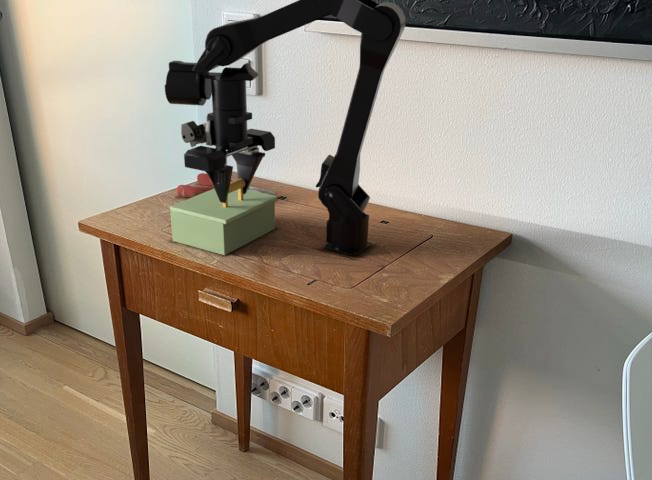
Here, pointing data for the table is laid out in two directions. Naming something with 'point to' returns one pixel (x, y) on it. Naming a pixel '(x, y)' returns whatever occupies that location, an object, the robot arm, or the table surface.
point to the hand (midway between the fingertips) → (233, 197)
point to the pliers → (208, 187)
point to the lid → (224, 204)
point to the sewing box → (222, 230)
